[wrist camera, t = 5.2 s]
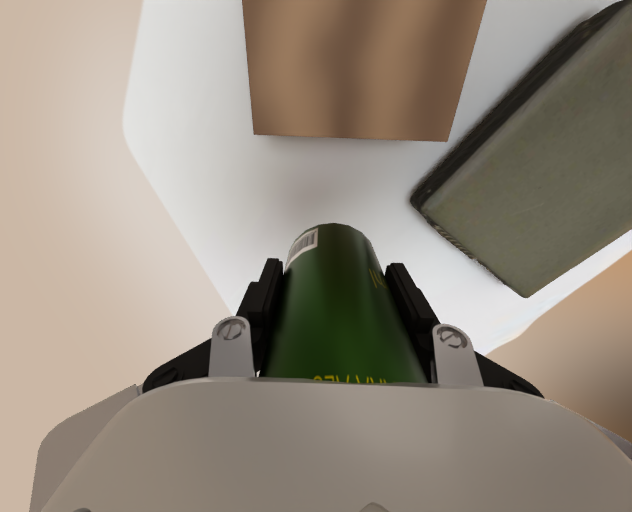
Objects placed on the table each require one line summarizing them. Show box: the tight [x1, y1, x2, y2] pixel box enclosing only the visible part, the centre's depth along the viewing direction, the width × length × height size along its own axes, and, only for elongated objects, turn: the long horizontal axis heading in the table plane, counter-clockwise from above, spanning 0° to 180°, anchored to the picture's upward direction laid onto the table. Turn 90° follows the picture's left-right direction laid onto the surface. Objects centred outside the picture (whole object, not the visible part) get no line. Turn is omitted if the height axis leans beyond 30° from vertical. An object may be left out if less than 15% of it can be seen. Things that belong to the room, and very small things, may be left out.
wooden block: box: [242, 0, 487, 142], centre depth 19 cm, size 16×14×7 cm
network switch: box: [410, 0, 632, 298], centre depth 26 cm, size 23×24×5 cm
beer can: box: [259, 223, 428, 383], centre depth 10 cm, size 5×5×12 cm
